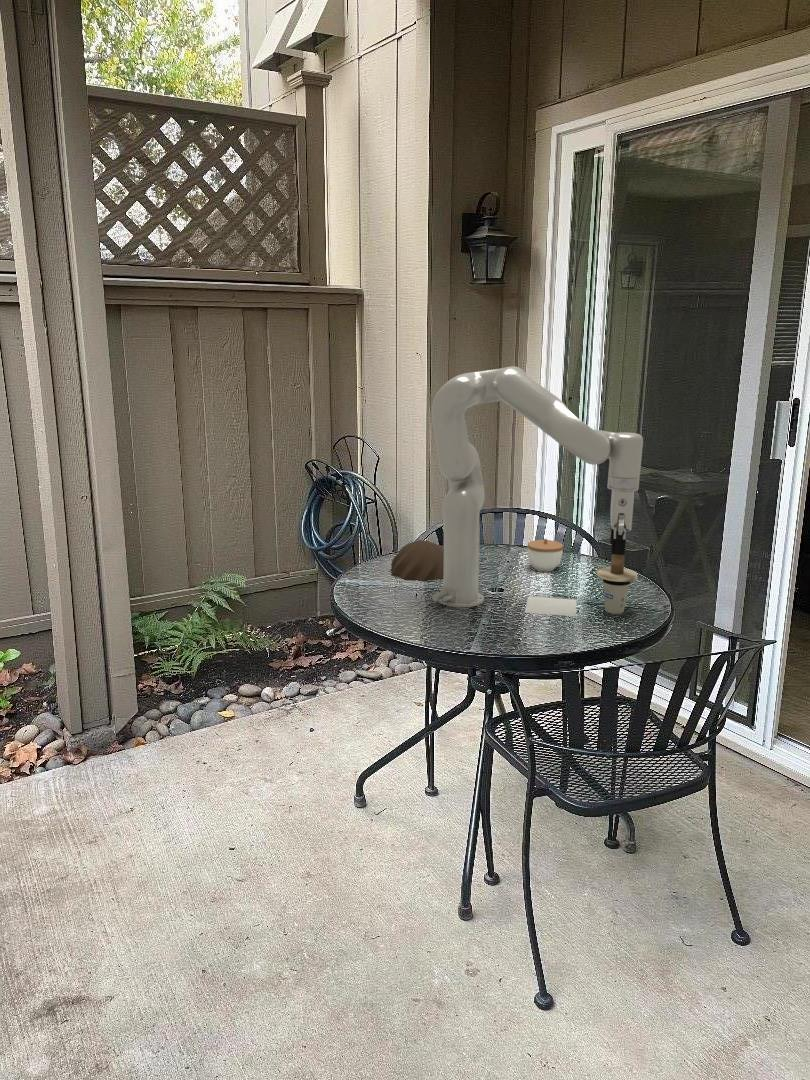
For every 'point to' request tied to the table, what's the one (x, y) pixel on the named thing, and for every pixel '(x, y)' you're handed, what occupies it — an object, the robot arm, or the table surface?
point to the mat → (551, 606)
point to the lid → (617, 571)
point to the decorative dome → (419, 561)
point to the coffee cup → (615, 596)
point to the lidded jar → (545, 554)
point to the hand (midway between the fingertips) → (617, 549)
